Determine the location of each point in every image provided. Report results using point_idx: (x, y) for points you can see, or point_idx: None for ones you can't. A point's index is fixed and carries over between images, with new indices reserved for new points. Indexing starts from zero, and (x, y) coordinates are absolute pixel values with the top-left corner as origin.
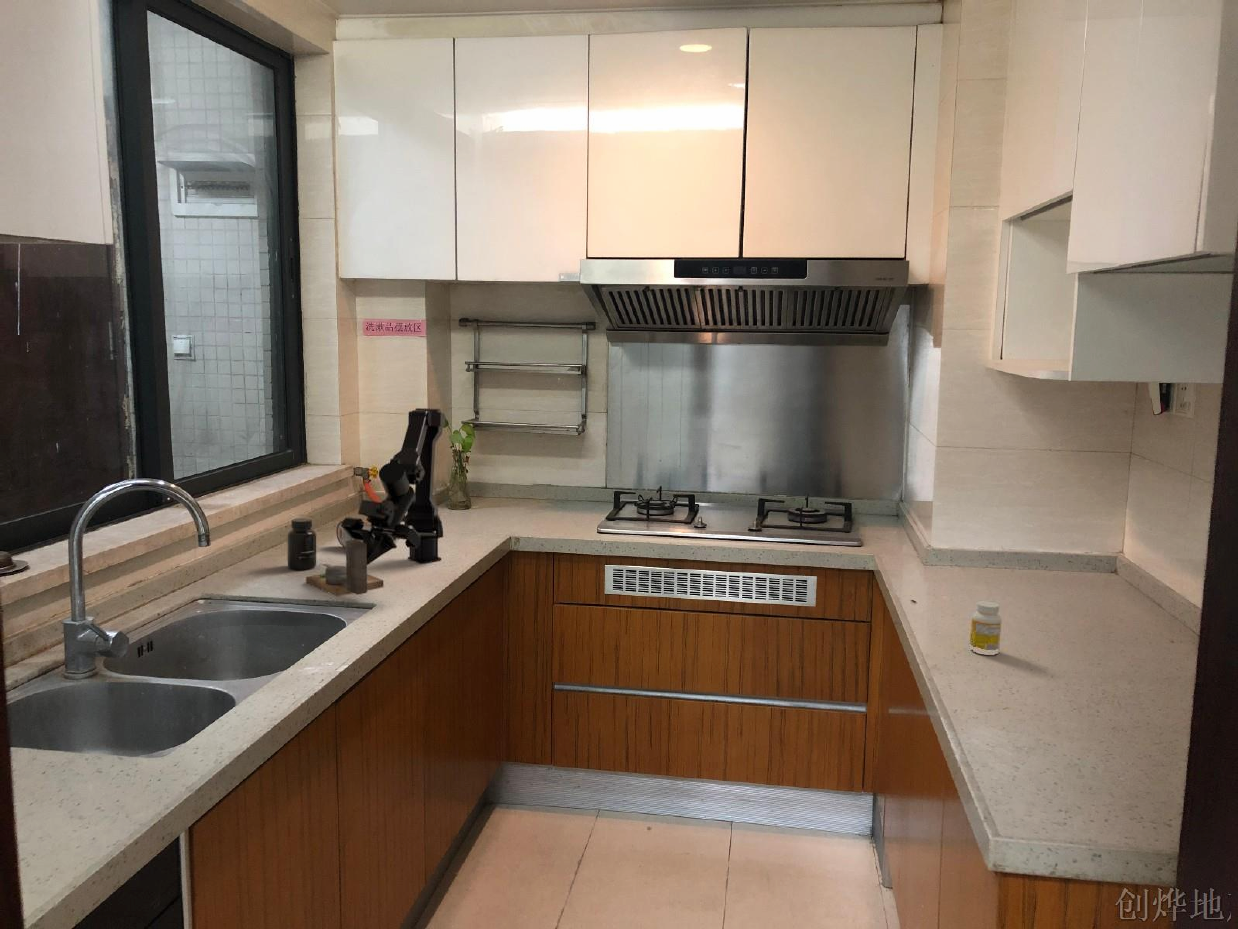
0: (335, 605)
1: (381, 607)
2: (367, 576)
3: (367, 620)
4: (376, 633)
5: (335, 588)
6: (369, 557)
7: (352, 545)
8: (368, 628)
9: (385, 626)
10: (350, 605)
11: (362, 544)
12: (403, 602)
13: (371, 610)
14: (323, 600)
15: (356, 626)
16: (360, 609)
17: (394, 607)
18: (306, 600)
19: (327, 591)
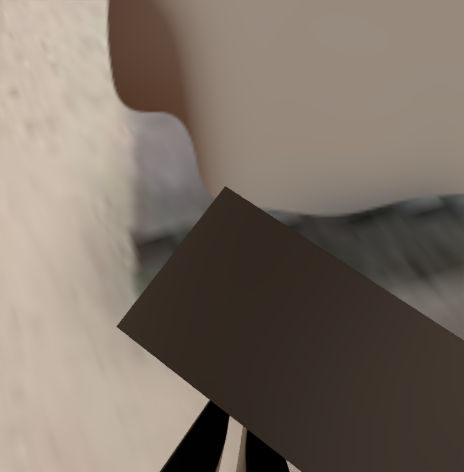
0: None
1: (102, 269)
2: None
3: (93, 117)
4: (17, 25)
5: None
6: (185, 442)
7: (323, 257)
8: (58, 54)
9: (10, 83)
10: None
11: (162, 271)
12: (32, 369)
13: (126, 221)
14: (388, 285)
15: (104, 59)
16: (174, 219)
17: (48, 285)
18: (454, 263)
19: None
